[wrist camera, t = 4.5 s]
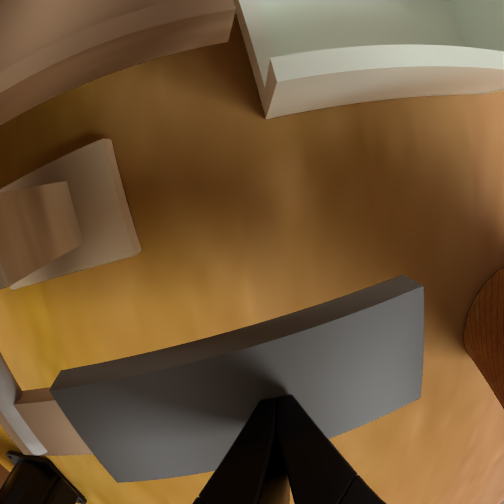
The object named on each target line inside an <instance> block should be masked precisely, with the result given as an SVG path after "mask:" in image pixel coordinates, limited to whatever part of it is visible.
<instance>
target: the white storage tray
mask: <svg viewBox="0 0 504 504" xmlns="http://www.w3.org/2000/svg"><path fill="white" fill-rule="evenodd" d="M233 1H234V4H235V7H236V11H235V13H236V16H237V19H238V22H239V26H240V29H241V32H242V36H243V39H244V43H245V46H246V49H247V53H248V56H249V60H250V63H251V67H252V70H253V74H254V78H255V81H256V85H257V88H258V92H259V96H260V100H261V103H262V107H263V111H264V115H265V118H266V119H270V118H275V117H280V116H285V115H290V114H295V113H300V112H305V111H311V110H316V109H322V108H328V107H334V106H341V105H347V104H354V103H362V102H370V101H378V100H387V99H397V98H408V97H422V96H438V95H467V94H487V93H492V92H497V91H502V90H504V0H233Z"/></svg>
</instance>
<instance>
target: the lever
mask: <svg viewBox="0 0 504 504" xmlns="http://www.w3.org/2000/svg"><path fill="white" fill-rule="evenodd" d="M235 11H236V7H235V4H234V1H233V0H0V126H1V125H2V124H4V123H6V122H7V121H9V120H11V119H13V118H14V117H16V116H18V115H20V114H22V113H24V112H25V111H27V110H29V109H31V108H33V107H35V106H37V105H39V104H41V103H43V102H45V101H47V100H49V99H51V98H53V97H55V96H58V95H60V94H62V93H64V92H66V91H69V90H71V89H73V88H76V87H78V86H80V85H83V84H85V83H88V82H90V81H93V80H95V79H98V78H100V77H103V76H105V75H108V74H111V73H114V72H116V71H119V70H122V69H125V68H128V67H131V66H134V65H137V64H140V63H144V62H147V61H150V60H154V59H157V58H160V57H164V56H168V55H171V54H175V53H179V52H183V51H187V50H191V49H196V48H200V47H205V46H209V45H214V44H219V43H225V42H228V41H229V36H230V32H231V28H232V24H233V20H234V15H235ZM423 352H424V286H423V285H421V284H420V283H418V282H416V281H414V280H412V279H410V278H408V277H406V276H405V275H400V276H398V277H395V278H393V279H390V280H387V281H385V282H382V283H379V284H376V285H374V286H371V287H368V288H365V289H362V290H360V291H357V292H354V293H351V294H348V295H345V296H342V297H340V298H337V299H334V300H331V301H328V302H325V303H322V304H319V305H316V306H313V307H310V308H306V309H303V310H300V311H297V312H294V313H291V314H288V315H284V316H281V317H278V318H275V319H271V320H268V321H265V322H261V323H258V324H254V325H251V326H248V327H244V328H241V329H237V330H234V331H230V332H226V333H223V334H219V335H216V336H212V337H208V338H204V339H201V340H197V341H193V342H189V343H185V344H181V345H177V346H173V347H169V348H165V349H161V350H157V351H152V352H148V353H144V354H139V355H135V356H131V357H126V358H121V359H117V360H112V361H107V362H103V363H98V364H93V365H88V366H82V367H77V368H72V369H66V370H61V371H60V373H59V375H58V376H57V378H56V379H55V381H54V383H53V385H52V386H51V387H50V388H42V389H35V390H27V391H22V390H21V388H20V387H19V385H18V383H17V382H16V380H15V378H14V377H13V375H12V373H11V371H10V370H9V368H8V366H7V364H6V362H5V360H4V359H3V357H2V355H1V353H0V424H1V426H2V427H3V428H4V430H5V431H6V432H7V434H8V435H9V436H10V438H11V439H12V440H13V442H14V443H15V444H16V445H17V447H18V448H19V449H20V450H21V451H22V453H23V454H24V455H87V454H94V455H95V457H96V458H97V459H98V460H99V462H100V463H101V464H102V465H103V466H104V468H105V469H106V470H107V471H108V472H109V473H110V475H111V476H112V477H113V478H114V479H115V480H116V481H117V483H118V482H134V481H146V480H156V479H165V478H173V477H180V476H187V475H193V474H199V473H205V472H210V471H215V470H216V469H217V467H218V466H219V464H220V463H221V461H222V460H223V458H224V457H225V455H226V454H227V452H228V451H229V449H230V447H231V446H232V444H233V443H234V441H235V440H236V438H237V436H238V435H239V433H240V432H241V430H242V428H243V427H244V425H245V423H246V422H247V420H248V419H249V417H250V415H251V414H252V412H253V410H254V409H255V407H256V405H257V404H258V402H259V401H260V400H262V399H267V398H273V397H274V398H276V399H277V397H279V396H283V395H288V394H292V395H293V396H294V397H295V398H296V400H297V401H298V402H299V403H300V405H301V406H302V407H303V408H304V410H305V411H306V412H307V413H308V415H309V416H310V417H311V418H312V420H313V421H314V422H315V423H316V425H317V426H318V427H319V428H320V430H321V431H322V432H323V433H324V434H325V436H326V437H327V438H328V439H329V438H332V437H334V436H337V435H340V434H342V433H345V432H347V431H350V430H352V429H355V428H357V427H359V426H362V425H364V424H366V423H369V422H371V421H373V420H376V419H378V418H380V417H382V416H384V415H386V414H389V413H391V412H393V411H395V410H397V409H399V408H401V407H403V406H405V405H407V404H409V403H411V402H413V401H415V400H417V399H419V398H420V397H421V385H422V372H423Z"/></svg>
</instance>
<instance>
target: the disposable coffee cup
mask: <svg viewBox="0 0 504 504" xmlns="http://www.w3.org/2000/svg"><path fill="white" fill-rule="evenodd" d="M464 344H465V348H466V351H467V353H468V354H469V356H470V357H471V358H472V360H473V361H474V363H475V364H476V366H477V367H478V369H479V370H480V372H481V373H482V375H483V376H484V378H485V379H486V381H487V382H488V384H489V386H490V387H491V389H492V390H493V392H494V394H495V395H496V397H497V399H498V400H499V402H500V404H501V405H502V407H503V408H504V268H502V269H501V270H499V271H497V272H496V273H495V274H494V275H493V276H492V277H491V278H490V279H489V280H488V281H487V282H486V284H485V285H484V286H483V287H482V289H481V290H480V292H479V293H478V295H477V296H476V298H475V300H474V302H473V304H472V306H471V309H470V311H469V313H468V317H467V321H466V324H465V330H464Z"/></svg>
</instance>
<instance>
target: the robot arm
mask: <svg viewBox="0 0 504 504" xmlns="http://www.w3.org/2000/svg"><path fill="white" fill-rule="evenodd" d="M6 456H7V457H8V458H9V459H10V460H11V462H12V463H13V464H14V465H15V466H14V468H13V469H12V471H11V472H10V474H9V476H8V477H7V479H6V480H5V482H4V484H3V485H2V487H1V489H0V504H75V503H80V504H86V502H87V500H86V499H85V498H84V497H83V496H82V495H81V494H80V493H79V492H78V491H77V490H76V489H75V488H74V487H73V486H72V485H71V484H70V482H69V481H68V480H67V479H66V478H65V477H64V476H63V475H62V474H61V473H60V472H59V471H58V469H57V468H56V467H55V466H54V465H53V464H52V463H51V462H50V461H49V460H47V459H43V458H38V457H33V456H28V455H23V454H19V453H15V452H11V451H8V452H7V453H6ZM290 488H291V492H292V495H293V499H294V503H295V504H386V503H385V502H384V501H383V500H381V499H380V498H379V497H378V495H377V494H376V493H375V492H374V491H373V490H372V489H371V488H370V487H369V486H368V485H367V484H366V483H365V482H364V481H363V479H362V478H361V477H360V476H359V475H357V473H356V472H355V470H354V469H353V468H352V467H351V466H350V464H349V463H348V462H347V461H346V460H345V459H344V457H343V456H342V455H341V454H340V453H339V451H338V450H337V449H336V448H335V447H334V445H333V444H332V443H331V442H330V441H329V439H328V438H327V437H326V436H325V434H324V433H323V432H322V431H321V430H320V428H319V427H318V426H317V425H316V423H315V422H314V421H313V420H312V418H311V417H310V416H309V415H308V413H307V412H306V411H305V410H304V408H303V407H302V406H301V405H300V403H299V402H298V401H297V400H296V398H295V397H294V396H293V395H292V394H288V395H283V396H279V397H277V399H276V398H274V397H273V398H267V399H262V400H260V401H259V402H258V404H257V405H256V407H255V409H254V410H253V412H252V414H251V415H250V417H249V419H248V420H247V422H246V423H245V425H244V427H243V428H242V430H241V432H240V433H239V435H238V436H237V438H236V440H235V441H234V443H233V444H232V446H231V447H230V449H229V451H228V452H227V454H226V455H225V457H224V458H223V460H222V461H221V463H220V464H219V466H218V467H217V469H216V470H215V472H214V473H213V475H212V476H211V478H210V479H209V481H208V482H207V484H206V485H205V487H204V488H203V490H202V491H201V493H200V494H199V497H200V498H199V497H197V498H196V499H195V501H194V502H193V504H289V502H290Z"/></svg>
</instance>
